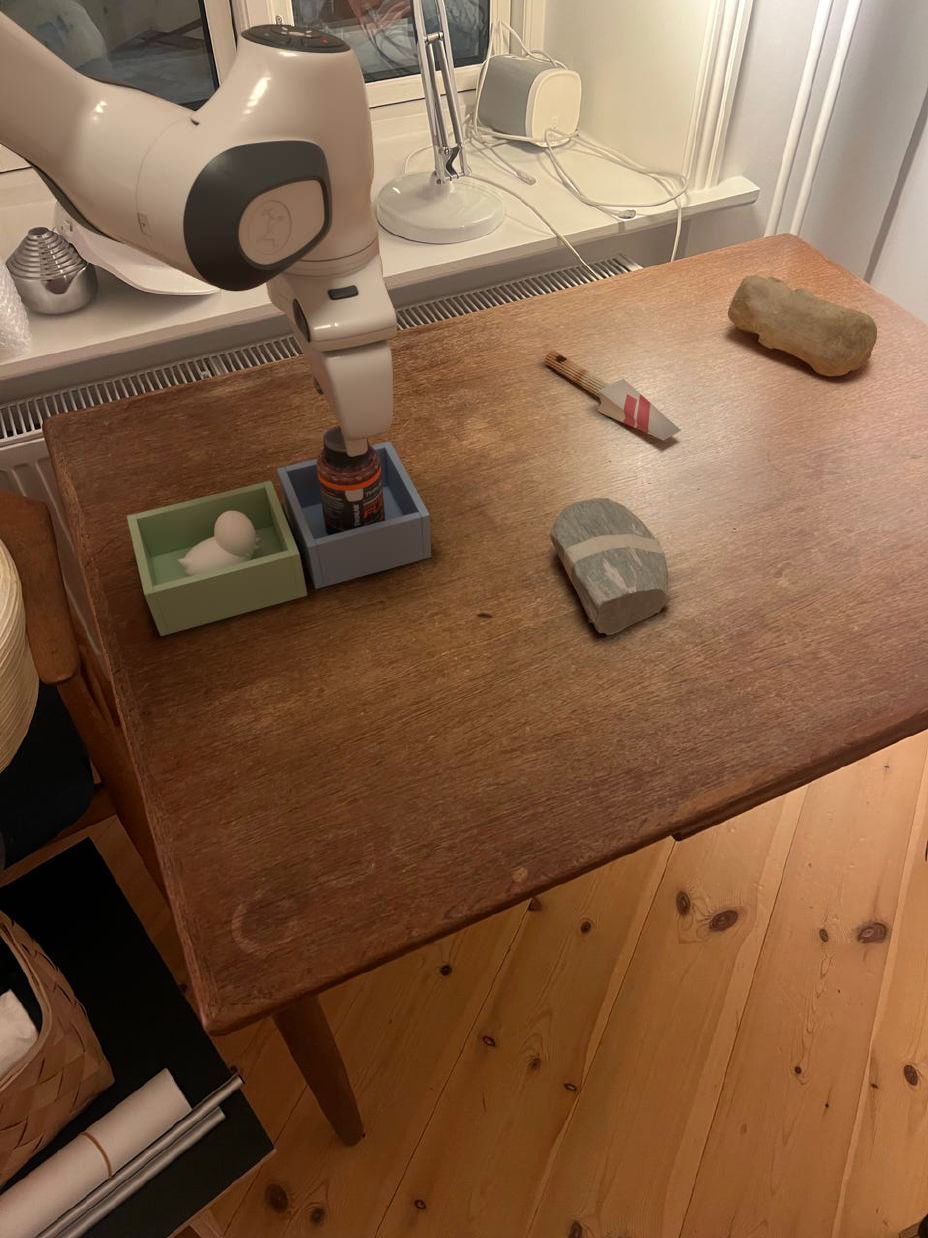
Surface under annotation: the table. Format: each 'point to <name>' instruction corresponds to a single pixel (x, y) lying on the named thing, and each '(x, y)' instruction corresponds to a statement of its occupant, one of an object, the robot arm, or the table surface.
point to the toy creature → (223, 545)
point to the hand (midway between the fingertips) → (339, 418)
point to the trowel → (617, 399)
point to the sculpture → (803, 325)
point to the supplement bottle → (349, 485)
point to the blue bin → (363, 546)
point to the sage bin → (223, 589)
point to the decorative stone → (611, 563)
